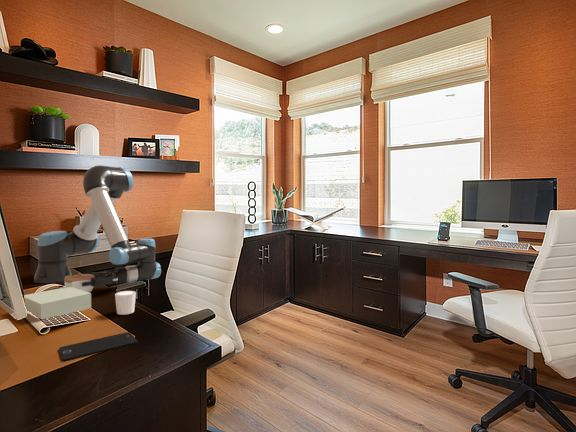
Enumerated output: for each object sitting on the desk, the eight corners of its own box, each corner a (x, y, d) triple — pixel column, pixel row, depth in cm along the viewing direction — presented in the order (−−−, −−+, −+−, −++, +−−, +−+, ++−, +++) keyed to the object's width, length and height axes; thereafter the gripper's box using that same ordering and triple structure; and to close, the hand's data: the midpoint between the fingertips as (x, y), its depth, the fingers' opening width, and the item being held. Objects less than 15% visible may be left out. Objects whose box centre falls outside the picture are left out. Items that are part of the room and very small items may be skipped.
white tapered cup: (140, 310, 123) (140, 291, 123) (124, 316, 117) (124, 296, 116) (127, 307, 126) (126, 289, 125) (110, 313, 120) (110, 294, 119)
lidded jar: (99, 294, 141) (99, 272, 141) (71, 300, 132) (71, 277, 132) (87, 290, 147) (86, 269, 147) (59, 296, 138) (59, 273, 138)
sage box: (21, 312, 120) (20, 295, 120) (69, 301, 133) (69, 286, 133) (41, 322, 111) (41, 304, 111) (91, 309, 125) (91, 293, 124)
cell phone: (59, 350, 91) (58, 347, 91) (129, 334, 103) (129, 331, 103) (62, 363, 85) (62, 359, 85) (138, 344, 96) (138, 341, 96)
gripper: (135, 288, 144) (75, 298, 129) (116, 278, 161) (62, 286, 145) (134, 270, 144) (75, 278, 128) (116, 262, 160) (62, 268, 145)
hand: (68, 282), depth 137 cm, fingers closed on lidded jar, 11 cm apart
